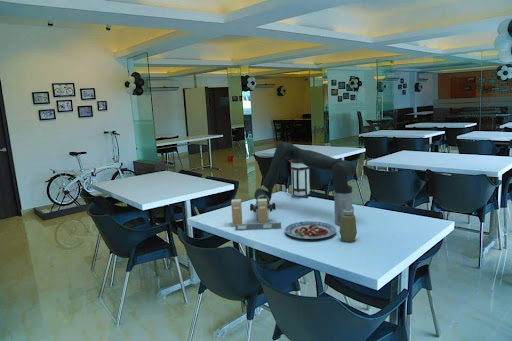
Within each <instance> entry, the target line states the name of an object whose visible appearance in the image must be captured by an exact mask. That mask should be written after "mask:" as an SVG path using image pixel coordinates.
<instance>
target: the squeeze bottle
mask: <svg viewBox="0 0 512 341" xmlns="http://www.w3.org/2000/svg"><path fill="white" fill-rule="evenodd" d="M357 230H358V229H357V220H356V215H355V214H354V215H353V210H351V209H350V204H349V203H347V204H346V208H345V210H343V214H342V215H341V220H340V225H339V234H340V237H341V238H340V239H341V241H342V242H347V243H348V242H350V243H351V242H354V241H355V239H356V237H357V234H358V231H357Z"/></svg>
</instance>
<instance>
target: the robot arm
mask: <svg viewBox="0 0 512 341" xmlns="http://www.w3.org/2000/svg"><path fill="white" fill-rule="evenodd" d="M283 159H286V160H291V159H292V160H297V161H300V162H301V163H302V164H304V165H306V166H308V167H309V168H311V169H314V170H317V171H318V170H319V171H330V172H331V179H332V188H333V191H334V193H333V194H334V196H333V198H334V205H333V206H334V208H333V209H334V224H335V225H338V226H340V220H341V215H342V214H343V210H345V208H346V204H347V203H349V204H350V209H351V210H353V215H355V214H354V213H355V210H354V209H355V208H354V206H353V187H352V186H351V185H350V184H348V179H349V178H352V177H353V176H354V175H356V166H355V164H354V163H352V162H351V161H349V160H344V159H339V158H335V157H331V156H329V155H326V154H322V153H320V152H318V151H314V150H309V149H303V148H301V147H299V146H295V145H294V144H292V143H289V142H285V141H282V142H279V143H277V145H276V147H275V150H274V153H273V156H272V160H271V162H270V166H269V169H268V170H267V171H268V172H267V174H266V175H265V178H264V180H263V182H262V185H263V186H264V188H265V189H263V188H262V187H261V188H257V189H256V190H255V192H254V195H253V196H254V199H255V201H256V203H255V204H254V203H249V204H250V205H249V209H250V210H249V211H252V212H253V213H257V212H258V199H267V210H268V211H269V212H270V213H271V212H273V211H275V210H276V207H277V205H276V203H275V202H272V203H270V202H271V199H272V196H273V190H274V187H275V185H276V184H277V181H278V179H279V175H280V165H281V163H282V161H283ZM266 189H267V190H266Z"/></svg>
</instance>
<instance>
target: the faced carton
mask: <svg viewBox="0 0 512 341" xmlns="http://www.w3.org/2000/svg"><path fill="white" fill-rule="evenodd" d="M230 204H231V206H230V207H231V220H232V227H233V228H235V224H243V210H242V209H243V207H242V198H236V199H234V198H233V199H231V202H230Z"/></svg>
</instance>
